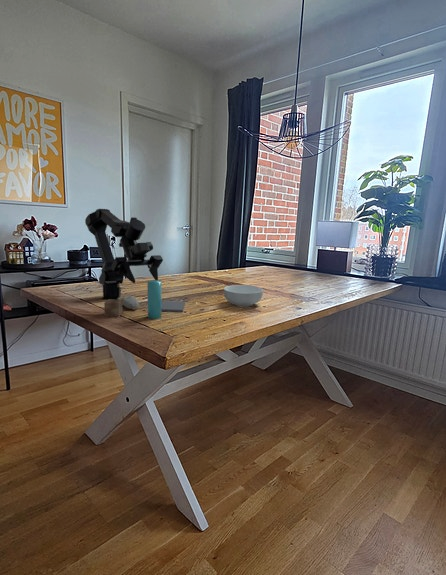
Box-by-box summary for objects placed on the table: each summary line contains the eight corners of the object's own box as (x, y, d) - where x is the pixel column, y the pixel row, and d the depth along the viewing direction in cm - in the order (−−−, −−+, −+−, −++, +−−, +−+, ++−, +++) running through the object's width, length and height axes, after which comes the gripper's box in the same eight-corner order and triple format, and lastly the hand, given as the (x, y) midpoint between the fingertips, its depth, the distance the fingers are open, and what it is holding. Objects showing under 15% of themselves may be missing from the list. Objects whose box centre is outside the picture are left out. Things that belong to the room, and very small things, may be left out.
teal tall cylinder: (146, 318, 116) (146, 282, 113) (148, 314, 121) (148, 280, 118) (160, 319, 116) (160, 283, 114) (162, 315, 121) (162, 280, 118)
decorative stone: (127, 312, 124) (127, 303, 123) (118, 302, 137) (118, 294, 136) (143, 310, 127) (143, 302, 126) (133, 301, 140) (133, 293, 139)
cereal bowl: (227, 298, 151) (228, 283, 150) (263, 301, 148) (264, 286, 147) (219, 307, 135) (220, 290, 134) (259, 311, 132) (261, 294, 131)
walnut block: (104, 316, 117) (104, 302, 116) (108, 312, 122) (108, 299, 121) (118, 316, 117) (118, 303, 116) (122, 312, 122) (122, 299, 121)
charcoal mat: (148, 310, 126) (148, 308, 126) (154, 302, 138) (154, 300, 138) (182, 311, 126) (182, 309, 126) (185, 303, 139) (185, 301, 139)
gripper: (114, 234, 115) (129, 269, 109) (160, 234, 127) (176, 266, 121) (105, 254, 122) (119, 288, 116) (150, 252, 134) (164, 283, 128)
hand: (146, 281), depth 120 cm, fingers open, 9 cm apart
